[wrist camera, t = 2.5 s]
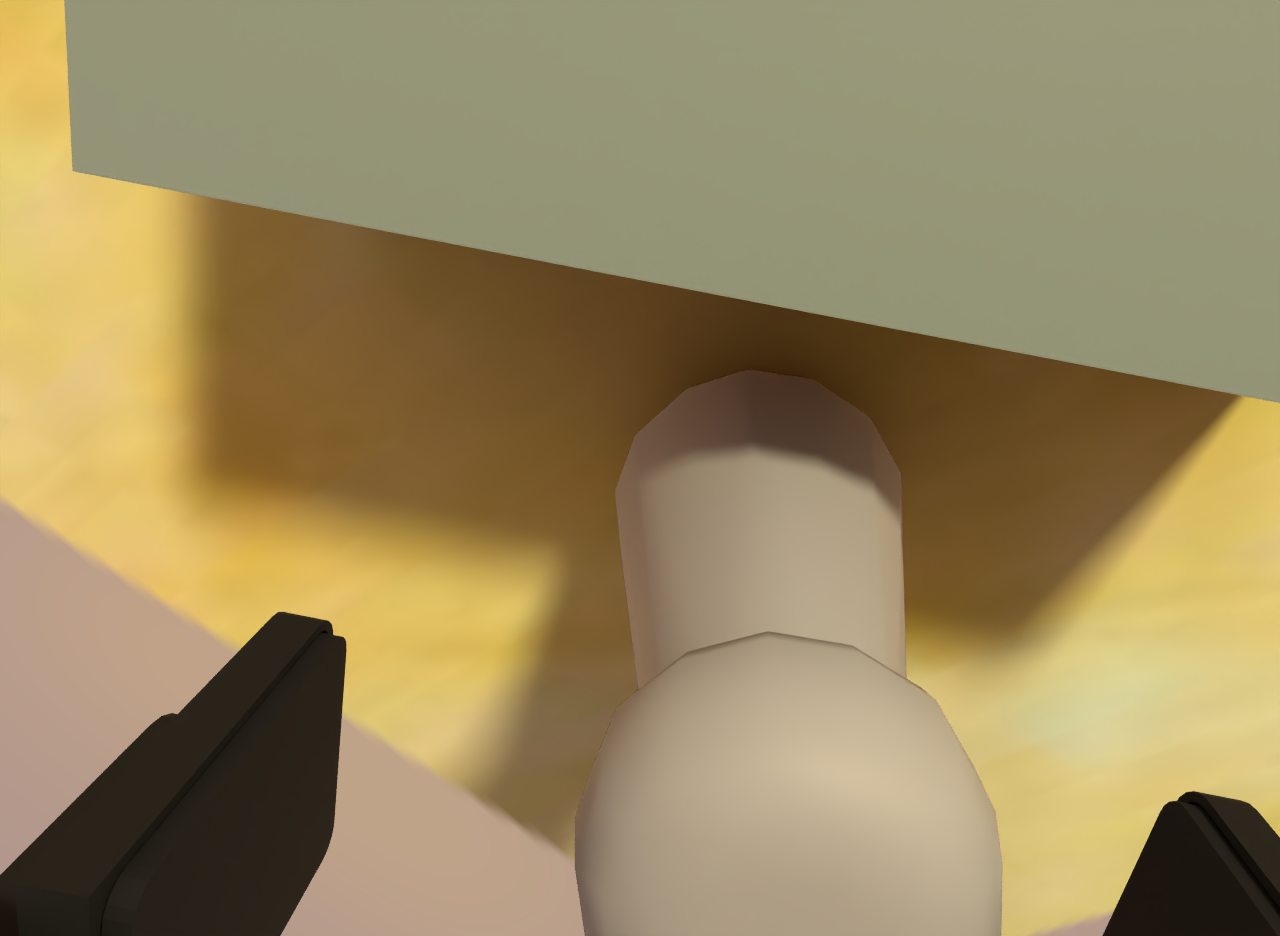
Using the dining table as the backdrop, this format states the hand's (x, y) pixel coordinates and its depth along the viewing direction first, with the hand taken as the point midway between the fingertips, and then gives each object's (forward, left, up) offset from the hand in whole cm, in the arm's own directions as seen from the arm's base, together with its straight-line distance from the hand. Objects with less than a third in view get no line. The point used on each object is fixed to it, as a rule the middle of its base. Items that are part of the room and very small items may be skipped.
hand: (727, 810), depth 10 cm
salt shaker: (0, 0, -11) cm, 11 cm away
